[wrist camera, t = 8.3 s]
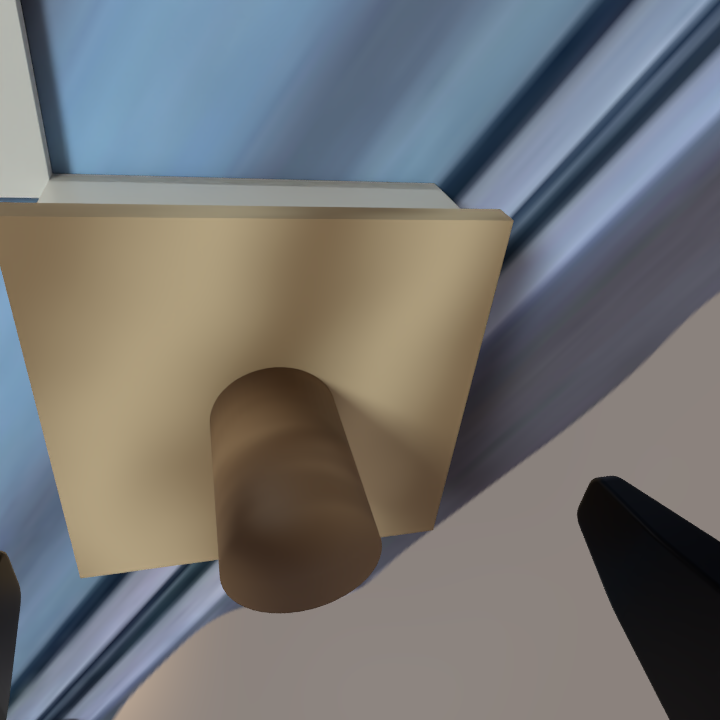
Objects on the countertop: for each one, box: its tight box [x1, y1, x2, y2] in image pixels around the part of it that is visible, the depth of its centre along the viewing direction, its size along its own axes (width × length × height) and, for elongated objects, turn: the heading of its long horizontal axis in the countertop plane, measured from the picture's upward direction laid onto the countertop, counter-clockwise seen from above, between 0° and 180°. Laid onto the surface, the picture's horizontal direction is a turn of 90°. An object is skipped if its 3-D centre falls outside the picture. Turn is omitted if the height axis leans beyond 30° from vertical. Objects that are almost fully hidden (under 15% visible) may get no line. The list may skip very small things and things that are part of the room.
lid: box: [0, 202, 513, 613], centre depth 15 cm, size 12×12×6 cm
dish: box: [37, 174, 460, 209], centre depth 19 cm, size 11×11×4 cm
